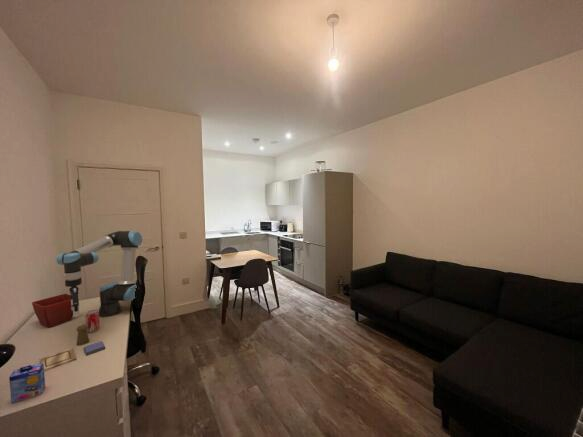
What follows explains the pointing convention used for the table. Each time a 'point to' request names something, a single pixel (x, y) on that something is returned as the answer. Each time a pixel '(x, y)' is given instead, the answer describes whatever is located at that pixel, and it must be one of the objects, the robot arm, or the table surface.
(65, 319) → the plant pot
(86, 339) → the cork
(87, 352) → the ink pad
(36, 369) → the ink cartridge box
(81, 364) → the table surface
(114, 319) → the table surface
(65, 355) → the board
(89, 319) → the soda can
